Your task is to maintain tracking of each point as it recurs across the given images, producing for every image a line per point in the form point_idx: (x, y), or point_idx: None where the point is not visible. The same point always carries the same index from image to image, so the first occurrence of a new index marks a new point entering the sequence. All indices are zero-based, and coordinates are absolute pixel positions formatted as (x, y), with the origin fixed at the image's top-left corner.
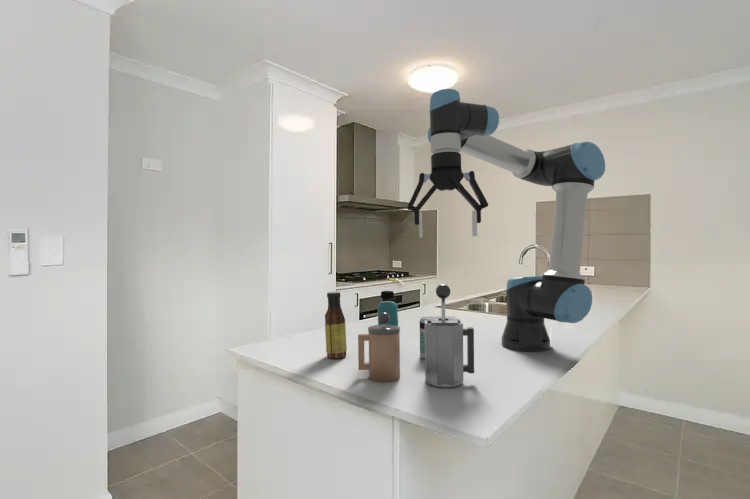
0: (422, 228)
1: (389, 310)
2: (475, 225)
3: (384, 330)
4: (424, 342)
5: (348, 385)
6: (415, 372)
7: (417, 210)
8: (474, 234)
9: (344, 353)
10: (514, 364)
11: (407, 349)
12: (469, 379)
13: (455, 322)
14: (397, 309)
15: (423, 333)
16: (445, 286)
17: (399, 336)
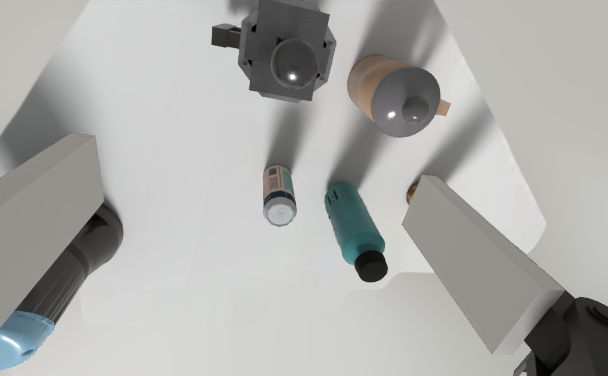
0: (451, 203)
1: (363, 228)
2: (34, 168)
3: (413, 76)
4: (286, 180)
5: (438, 49)
6: (316, 100)
7: (591, 305)
8: (86, 140)
9: (413, 190)
10: (123, 122)
11: (300, 222)
12: (230, 47)
13: (266, 3)
14: (341, 241)
15: (289, 189)
16: (292, 49)
17: (370, 92)
